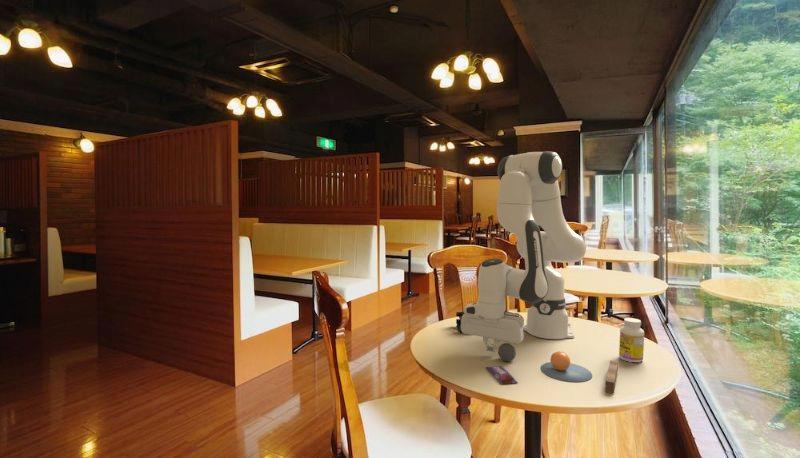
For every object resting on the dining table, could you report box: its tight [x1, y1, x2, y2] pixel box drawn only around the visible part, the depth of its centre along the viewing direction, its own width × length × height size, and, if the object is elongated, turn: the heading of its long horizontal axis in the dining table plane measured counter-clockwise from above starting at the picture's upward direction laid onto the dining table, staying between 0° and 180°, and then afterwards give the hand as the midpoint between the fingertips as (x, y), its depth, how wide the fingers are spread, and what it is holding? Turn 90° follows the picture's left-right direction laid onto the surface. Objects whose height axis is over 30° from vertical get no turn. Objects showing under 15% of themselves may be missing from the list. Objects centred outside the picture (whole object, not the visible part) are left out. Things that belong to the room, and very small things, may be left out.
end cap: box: [455, 311, 465, 335], centre depth 156 cm, size 10×7×7 cm
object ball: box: [549, 351, 571, 371], centre depth 118 cm, size 6×6×6 cm
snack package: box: [485, 365, 518, 385], centre depth 114 cm, size 12×2×5 cm
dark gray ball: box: [497, 342, 517, 362], centre depth 125 cm, size 6×6×6 cm
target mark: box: [540, 361, 593, 383], centre depth 117 cm, size 14×14×1 cm
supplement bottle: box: [618, 317, 645, 363], centre depth 126 cm, size 7×7×13 cm
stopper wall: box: [604, 360, 619, 394], centre depth 111 cm, size 16×2×3 cm, turn 148°
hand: (490, 351), depth 129 cm, fingers closed
